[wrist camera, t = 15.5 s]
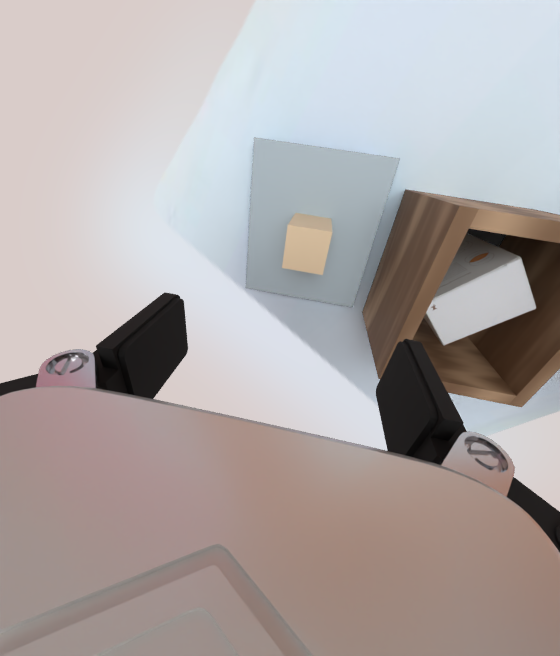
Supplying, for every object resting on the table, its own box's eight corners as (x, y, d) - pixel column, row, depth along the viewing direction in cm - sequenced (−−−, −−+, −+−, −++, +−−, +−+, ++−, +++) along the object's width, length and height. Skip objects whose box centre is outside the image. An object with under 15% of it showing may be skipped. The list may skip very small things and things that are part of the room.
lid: (395, 159, 26) (423, 156, 19) (351, 300, 35) (358, 337, 28) (258, 139, 27) (232, 129, 20) (249, 281, 36) (229, 313, 29)
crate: (534, 209, 27) (684, 241, 16) (459, 330, 35) (521, 407, 24) (405, 189, 28) (459, 205, 16) (362, 312, 36) (378, 378, 25)
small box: (411, 301, 34) (441, 348, 25) (393, 267, 32) (419, 305, 23) (479, 269, 31) (540, 310, 22) (463, 229, 29) (523, 256, 20)
